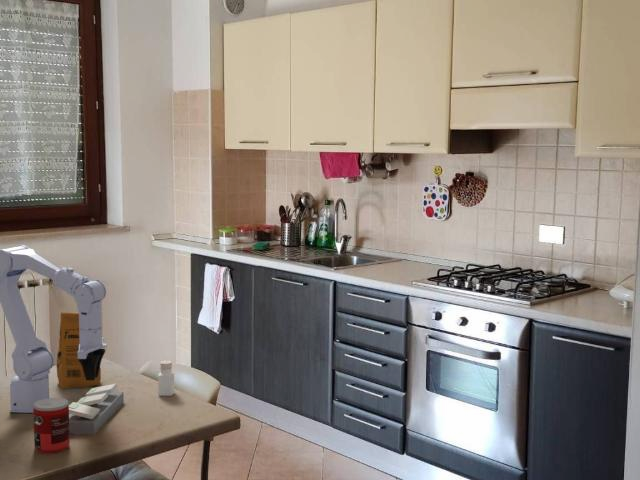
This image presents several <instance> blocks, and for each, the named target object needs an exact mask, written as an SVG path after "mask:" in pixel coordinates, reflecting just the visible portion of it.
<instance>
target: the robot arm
mask: <svg viewBox="0 0 640 480" xmlns="http://www.w3.org/2000/svg"><path fill="white" fill-rule="evenodd" d="M27 270H30V271H32V272H35V273H37V274H38V275H41V276H42V277H45V278H46V279H47V278H48V279H49V280H51V281H52V283H53V285H54V287H55V288H56V289H59V290H61V291H62V292H64V293H66V294H67V295H69V296H71V297H73V300H74V301H75V303H76V305H77V310H78V314H79V337H80V344H79V351H78V352H77V353H78V354H77V359H78V360H79V361H80V363H81V365H82V368H83V371H84V375H85V378H86V380H95V378H97V377H98V374H99V369H101V363H102V360H103V357H104V355H105V353H106V348H107V347H108V343H105V337H103V308H102V307H103V304H102V303H103V302H102V301H103V300H104V299H105V297H106V294H107V288H106V286H105V285H104V283H103V282H101V281H100V279H96V278H95V279H89V277H88V276H86V275H85V276H83V275H82V274H79V273H77V272H75V269H74V268H73V267H62V268H59V267H57V266H56V265H55V264H53V263H51V261H50V262H49V260H46V259H45V258H44V257H42V256H40V255H39V254H37V253H36V251H35V249H33V248H29V247H28V246H27V245H23V244H21V245H18V246H14V247H8V248H3V249H2V248H0V307H1V309H2V310H3V314H4V316H5V318H6V322H7V323H8V324H7V325H8V327H9V330H10V332H11V335H12V338H13V340H14V343H15V348H14V349H13V351H12V353H11V357H12V362H13V363H12V364H13V365H12V366H13V371H14V373H15V376H13V377H12V379H11V381H10V385H9V392H10V393H9V394H10V395H9V396H10V398H9V399H10V400H9V401H10V410H9V413H25V414H27V413H28V414H31V413H32V414H33V404H34V403H35V402H36V401H39V400H42V399H47V398H50V377H49V375H50V374H51V369H52V368H53V367H54V364H55V357H54V355H53V353H52V351H51V350H50V349H49V348H48V346H47V344H46V342H45V341H43V340H41V339H40V338H38V337H37V335H36V332H35V329H34V326H33V323H32V321H31V318H30V316H29V313H28V310H27V307H26V304H25V302H24V300H23V297H22V294H21V292H20V289H19V286H18V281H19V280H20V278H21V277H22V276H23V274H24V273H25V272H26V271H27Z"/></svg>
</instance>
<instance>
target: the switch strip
mask: <svg viewBox="0 0 640 480" xmlns="http://www.w3.org/2000/svg"><path fill="white" fill-rule="evenodd" d="M107 395H108V397H107V398H106V399H105V400H104V401H103V402H102V403H97V404H95V405H94V406H93V407H94V408H98V409H100V410H99V413H98V414H97V415H96V416H95V417H94V418H93V419H89V418H85V417H82V418H81V419H80V420H77V419H76V416H77V415H73V414H69V435H95V434H97V432H98V431H100V429H101V428H102V427H103V425H105V424H106V422H107V421H108V420H109V419H110V418H111V417H112V416H113V415H114V414H115V413H116V411H117V410H118V409H119V408H120V407H121V406H122V405H123V404H124V398H125V397H124V391H113V392H112V393H108V394H107ZM84 397H86V395H85V396H84ZM87 406H88V405H87Z"/></svg>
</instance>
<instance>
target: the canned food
mask: <svg viewBox="0 0 640 480" xmlns="http://www.w3.org/2000/svg"><path fill="white" fill-rule="evenodd" d="M69 405H70V404H69V401H68V400H67V399H65V398H62V397H49V398H47V399H42V400H39V401H36V402H35V403H34V404H33V413H32V416H33V417H32V418H33V419H32V420H33V436H34V437H33V441H34V445H33V446H34V449H35V451H36V452H38V453H41V454H57V453H61V452H63V451H66V450H67V449H68V448H69V447H70V442H71V440H70V434H69Z"/></svg>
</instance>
